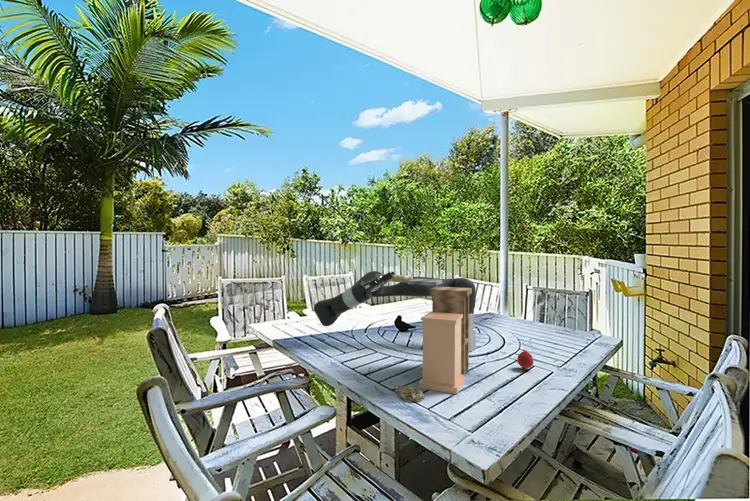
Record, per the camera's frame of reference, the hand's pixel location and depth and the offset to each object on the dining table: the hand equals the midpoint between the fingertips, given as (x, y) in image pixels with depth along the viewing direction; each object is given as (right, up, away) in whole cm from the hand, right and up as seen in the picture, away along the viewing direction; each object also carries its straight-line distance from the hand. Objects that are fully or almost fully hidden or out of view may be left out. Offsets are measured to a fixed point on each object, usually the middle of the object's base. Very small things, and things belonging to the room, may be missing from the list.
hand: (392, 274), depth 133 cm
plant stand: (+23, -38, +6) cm, 45 cm away
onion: (+52, -38, +8) cm, 65 cm away
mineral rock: (+5, -39, -17) cm, 42 cm away
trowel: (+5, -3, -2) cm, 6 cm away
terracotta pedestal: (+17, -38, -7) cm, 42 cm away
